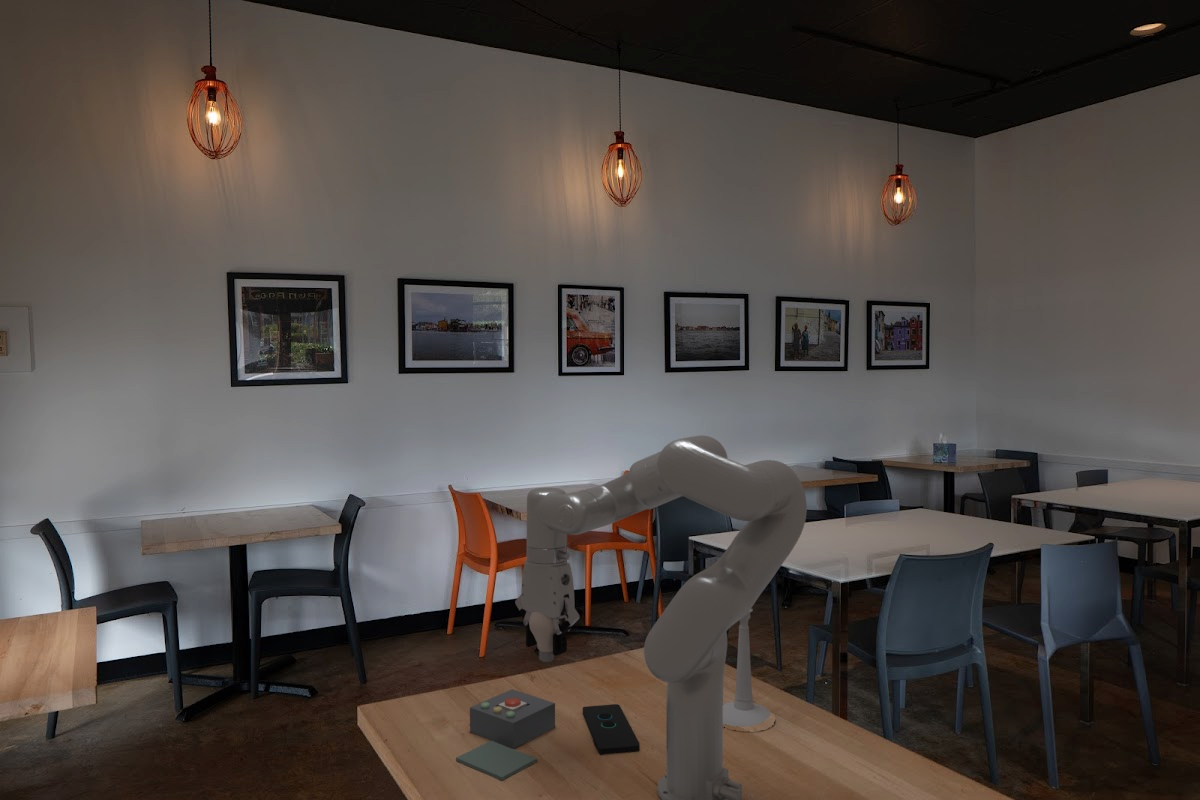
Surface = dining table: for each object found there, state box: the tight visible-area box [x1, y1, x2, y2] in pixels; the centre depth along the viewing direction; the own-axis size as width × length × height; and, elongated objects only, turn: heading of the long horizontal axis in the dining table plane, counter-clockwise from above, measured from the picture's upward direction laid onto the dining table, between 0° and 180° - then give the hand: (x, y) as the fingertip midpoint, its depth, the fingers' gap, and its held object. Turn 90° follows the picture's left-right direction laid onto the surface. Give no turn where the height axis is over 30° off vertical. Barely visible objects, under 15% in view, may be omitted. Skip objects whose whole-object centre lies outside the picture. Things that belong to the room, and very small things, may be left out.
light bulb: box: [529, 611, 562, 663], centre depth 156 cm, size 7×7×11 cm
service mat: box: [455, 740, 538, 781], centre depth 154 cm, size 12×9×1 cm
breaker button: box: [498, 698, 527, 712], centre depth 167 cm, size 4×4×4 cm
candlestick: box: [723, 608, 770, 727], centre depth 171 cm, size 13×13×30 cm
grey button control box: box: [469, 688, 556, 750], centre depth 167 cm, size 12×12×6 cm
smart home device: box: [582, 703, 640, 756], centre depth 167 cm, size 8×2×20 cm
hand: (546, 648), depth 156 cm, fingers closed on light bulb, 6 cm apart
